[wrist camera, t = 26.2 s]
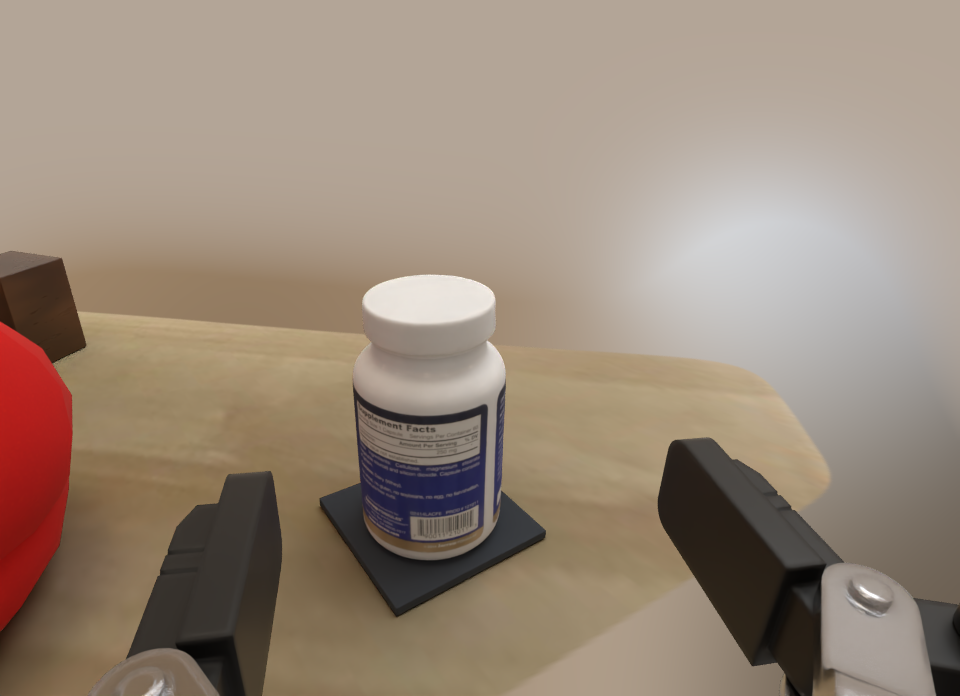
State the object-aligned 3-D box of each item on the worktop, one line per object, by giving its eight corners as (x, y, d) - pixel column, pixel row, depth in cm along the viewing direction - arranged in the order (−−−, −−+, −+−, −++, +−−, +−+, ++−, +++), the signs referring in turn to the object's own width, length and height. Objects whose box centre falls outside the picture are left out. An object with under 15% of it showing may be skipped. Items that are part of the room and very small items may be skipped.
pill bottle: (416, 458, 29) (412, 259, 24) (522, 501, 26) (539, 287, 22) (333, 530, 24) (311, 302, 20) (451, 590, 22) (455, 343, 17)
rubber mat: (396, 616, 21) (396, 609, 21) (319, 505, 26) (318, 498, 26) (545, 537, 25) (546, 530, 25) (453, 453, 30) (453, 446, 30)
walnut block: (30, 373, 36) (-2, 277, 33) (-21, 362, 37) (-56, 269, 34) (87, 345, 39) (62, 257, 37) (38, 337, 40) (11, 250, 38)
